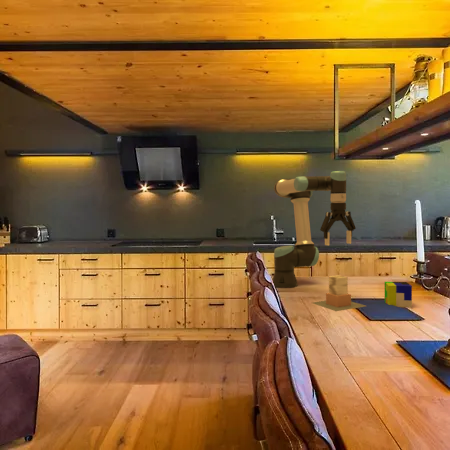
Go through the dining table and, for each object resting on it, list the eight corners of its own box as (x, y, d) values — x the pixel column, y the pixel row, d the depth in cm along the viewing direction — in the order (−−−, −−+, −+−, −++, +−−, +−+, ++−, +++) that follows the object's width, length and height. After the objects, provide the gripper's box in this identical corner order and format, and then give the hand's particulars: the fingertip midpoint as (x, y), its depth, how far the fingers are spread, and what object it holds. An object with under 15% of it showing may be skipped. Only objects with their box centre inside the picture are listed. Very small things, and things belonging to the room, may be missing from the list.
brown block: (328, 293, 192) (328, 276, 192) (338, 291, 195) (338, 275, 194) (337, 295, 187) (337, 278, 187) (347, 294, 189) (347, 277, 189)
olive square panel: (311, 304, 195) (311, 302, 195) (340, 300, 203) (340, 298, 203) (336, 313, 179) (336, 311, 179) (367, 308, 187) (367, 306, 187)
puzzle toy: (411, 307, 186) (411, 286, 186) (388, 307, 188) (388, 285, 188) (406, 302, 196) (406, 281, 195) (384, 302, 198) (384, 281, 197)
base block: (326, 303, 193) (325, 293, 193) (339, 301, 196) (339, 291, 196) (337, 307, 186) (337, 296, 185) (351, 305, 189) (350, 294, 189)
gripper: (322, 202, 196) (322, 246, 197) (363, 201, 206) (362, 243, 207) (313, 202, 203) (313, 245, 204) (352, 201, 212) (352, 242, 214)
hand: (338, 244), depth 206 cm, fingers open, 13 cm apart
